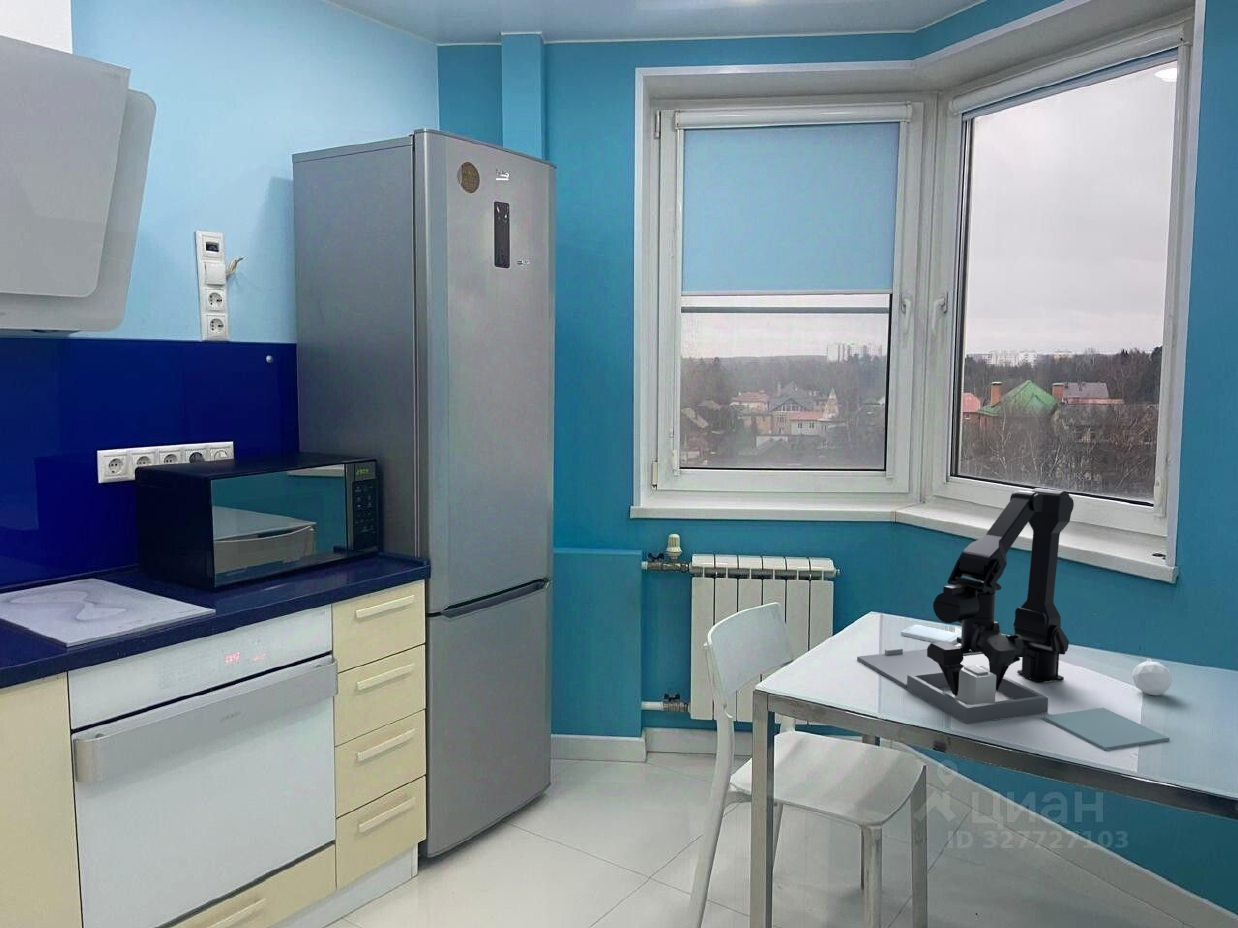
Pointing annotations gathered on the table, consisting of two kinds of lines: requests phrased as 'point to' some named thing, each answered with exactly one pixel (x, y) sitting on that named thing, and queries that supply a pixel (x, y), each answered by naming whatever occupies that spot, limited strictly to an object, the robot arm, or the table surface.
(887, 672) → the case
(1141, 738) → the mat
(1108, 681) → the table surface
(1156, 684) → the ornament
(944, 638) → the hard drive
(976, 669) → the block
